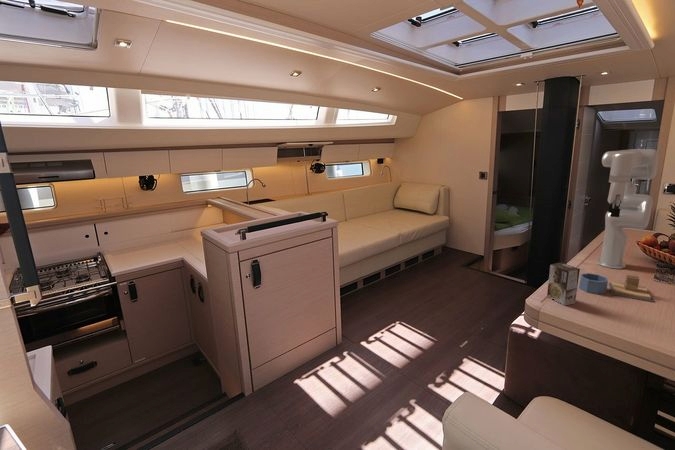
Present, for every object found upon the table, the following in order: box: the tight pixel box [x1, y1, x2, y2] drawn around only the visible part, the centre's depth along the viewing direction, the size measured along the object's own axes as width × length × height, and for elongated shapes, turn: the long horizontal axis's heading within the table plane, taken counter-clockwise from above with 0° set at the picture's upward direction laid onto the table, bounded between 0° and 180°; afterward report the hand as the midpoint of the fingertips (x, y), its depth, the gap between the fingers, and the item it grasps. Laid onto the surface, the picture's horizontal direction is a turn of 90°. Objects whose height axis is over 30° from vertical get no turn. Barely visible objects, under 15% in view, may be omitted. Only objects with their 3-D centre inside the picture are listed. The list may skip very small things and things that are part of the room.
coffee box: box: [546, 262, 581, 306], centre depth 143 cm, size 9×6×16 cm
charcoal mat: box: [608, 282, 655, 303], centre depth 149 cm, size 14×14×1 cm
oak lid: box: [611, 274, 652, 300], centre depth 148 cm, size 12×12×7 cm
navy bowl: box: [578, 272, 609, 295], centre depth 153 cm, size 10×10×6 cm
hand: (613, 214), depth 157 cm, fingers open, 9 cm apart
